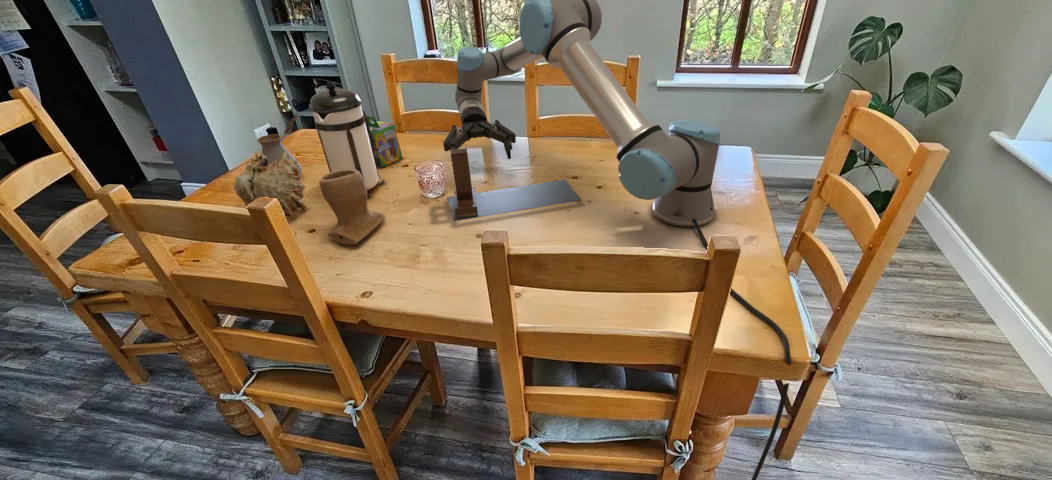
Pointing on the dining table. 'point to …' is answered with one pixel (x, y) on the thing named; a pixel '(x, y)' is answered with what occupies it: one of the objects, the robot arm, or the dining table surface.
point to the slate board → (519, 198)
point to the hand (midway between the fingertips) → (484, 158)
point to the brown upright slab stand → (463, 184)
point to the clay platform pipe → (349, 206)
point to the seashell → (272, 182)
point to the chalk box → (384, 142)
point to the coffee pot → (276, 145)
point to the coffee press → (345, 133)
